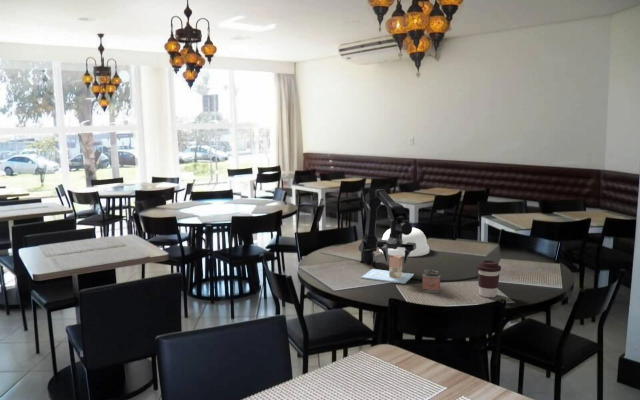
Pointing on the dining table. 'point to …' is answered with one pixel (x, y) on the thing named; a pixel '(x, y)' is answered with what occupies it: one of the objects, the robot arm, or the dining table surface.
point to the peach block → (395, 261)
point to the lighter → (431, 281)
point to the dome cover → (413, 237)
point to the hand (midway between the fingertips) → (395, 262)
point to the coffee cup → (488, 278)
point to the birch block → (395, 272)
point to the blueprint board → (386, 276)
